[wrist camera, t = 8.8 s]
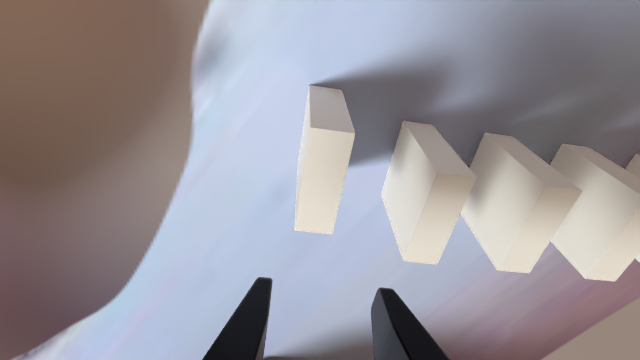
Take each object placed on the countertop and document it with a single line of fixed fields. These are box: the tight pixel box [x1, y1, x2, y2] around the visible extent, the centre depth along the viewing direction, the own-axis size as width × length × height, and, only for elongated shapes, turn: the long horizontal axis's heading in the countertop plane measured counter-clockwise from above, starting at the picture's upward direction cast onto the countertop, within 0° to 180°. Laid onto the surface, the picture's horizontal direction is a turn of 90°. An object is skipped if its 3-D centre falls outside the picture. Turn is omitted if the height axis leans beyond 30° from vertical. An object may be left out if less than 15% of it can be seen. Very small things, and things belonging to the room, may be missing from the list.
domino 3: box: [460, 133, 582, 273], centre depth 17 cm, size 2×5×5 cm, turn 171°
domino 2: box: [381, 121, 477, 264], centre depth 17 cm, size 2×5×5 cm, turn 171°
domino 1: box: [294, 85, 355, 234], centre depth 15 cm, size 2×5×5 cm, turn 171°
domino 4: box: [550, 143, 640, 281], centre depth 18 cm, size 2×5×5 cm, turn 171°
